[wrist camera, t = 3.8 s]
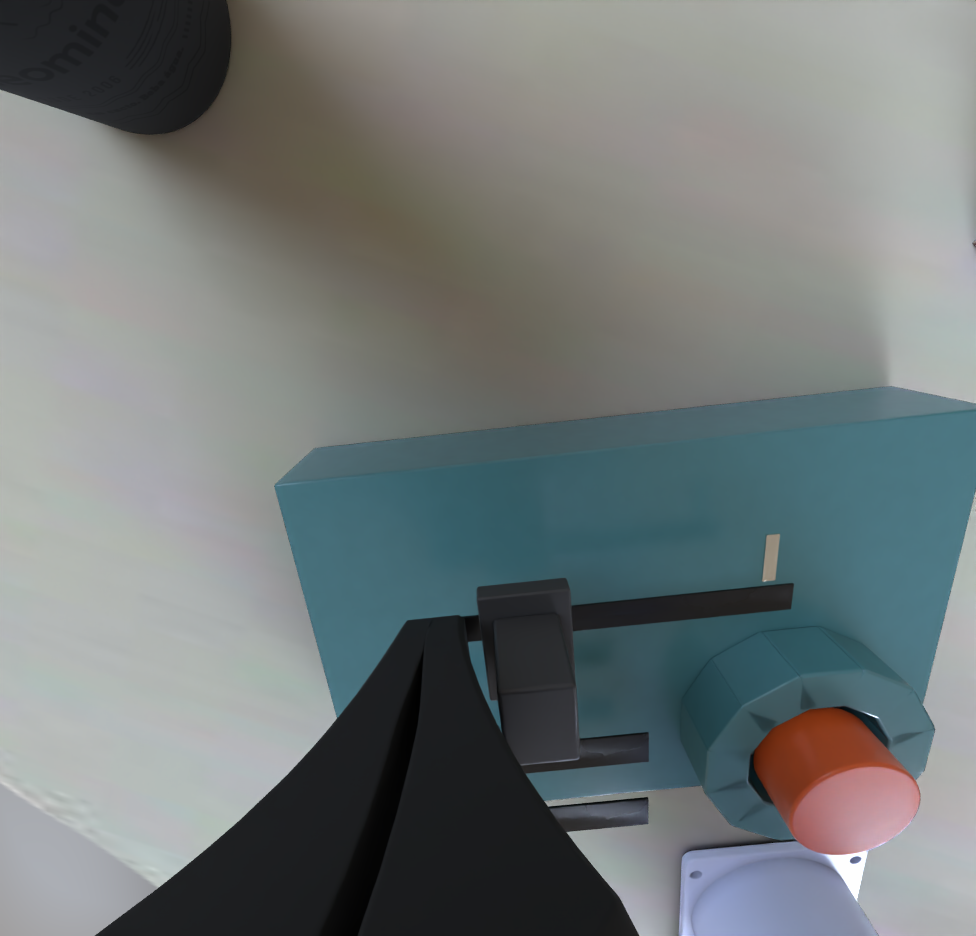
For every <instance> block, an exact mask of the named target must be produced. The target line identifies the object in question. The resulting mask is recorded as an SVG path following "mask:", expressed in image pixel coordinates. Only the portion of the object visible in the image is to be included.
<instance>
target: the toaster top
mask: <svg viewBox="0 0 976 936" xmlns="http://www.w3.org/2000/svg"><path fill="white" fill-rule="evenodd" d="M779 540H780V534H779V533H774V534H765V544H764V555H763V565H762V576H761V581H762V582H764V581H774V580H775V578H776V568H777V559H778V549H779ZM793 589H794V584H793V583H785V584H776V585H766V586H756V587H746V588H736V589H727V590H717V591H707V592H697V593H687V594H678V595H668V596H658V597H648V598H638V599H629V600H619V601H609V602H599V603H590V604H580V605H571V609H572V626H573V631H582V630H592V629H602V628H612V627H622V626H631V625H641V624H651V623H661V622H671V621H681V620H691V619H701V618H710V617H720V616H730V615H740V614H750V613H760V612H770V611H780V610H789V609H791V605H792V597H793ZM462 617H463V618H464V619H465V626H466V632H467V639H468V642H473V641H482V637H481V630H480V622H479V615H472V616H462ZM641 762H649V733H648V732H642V733H631V734H621V735H611V736H601V737H591V738H580V757H579V759H577V760H570V761H560V762H550V763H540V764H529V765H521V767H522V769H523V770H524V772H525V774H528V773H538V772H549V771H559V770H569V769H579V768H590V767H600V766H610V765H621V764H631V763H641ZM548 808H549V809H550V811H551V812H552V814H553V815H554V817H555V818H556V819H557V821H558V822H559V823H560V825H561V826H562V827H563V829H564V830H565V831H566V832H570V831H580V830H591V829H601V828H612V827H622V826H633V825H643V824H648V797H644V798H634V799H623V800H613V801H602V802H592V803H582V804H571V805H561V806H550V807H548Z"/></svg>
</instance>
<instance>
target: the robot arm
mask: <svg viewBox="0 0 976 936" xmlns="http://www.w3.org/2000/svg"><path fill="white" fill-rule="evenodd" d="M867 852H868V850H867V851H864V852H860V853H855V854H849V855H827V854H821V853H817V852H814V851H812V850H809V849H808V848H806V847H804V846H803V845H802V844H800V843H799V842H798V841H789V842H778V843H768V844H757V845H746V846H736V847H725V848H715V849H704V850H694V851H689V852H687V853H685V854H684V856H683V858H682V868H681V892H680V916H679V936H879V935H878V933H877V932H876V930H875V929H874V927H873V926H872V924H871V922H870V921H869V919H868V918H867V916H866V915H865V913H864V911H863V910H862V908H861V907H860V905H859V903H858V902H857V896H858V891H859V887H860V883H861V878H862V874H863V869H864V865H865V861H866V856H867ZM95 936H639V934H638V932H637V930H636V929H635V927H634V925H633V923H632V921H631V919H630V917H629V915H628V913H627V911H626V909H625V907H624V905H623V903H622V901H621V900H620V898H619V897H618V895H617V894H616V893H615V892H614V890H613V889H612V888H611V887H610V886H609V885H608V883H607V882H606V881H605V880H604V879H603V878H602V876H601V875H600V874H599V873H598V872H597V870H596V869H595V868H594V867H593V866H592V864H591V863H590V862H589V861H588V859H587V858H586V857H585V856H584V854H583V853H582V852H581V851H580V850H579V848H578V847H577V846H576V844H575V843H574V842H573V840H572V839H571V838H570V837H569V835H568V834H567V833H566V831H565V830H564V829H563V827H562V826H561V825H560V823H559V822H558V821H557V819H556V818H555V817H554V815H553V814H552V812H551V811H550V809H549V808H548V806H547V805H546V803H545V802H544V800H543V799H542V797H541V796H540V795H539V793H538V792H537V790H536V789H535V787H534V786H533V784H532V783H531V781H530V780H529V778H528V777H527V775H526V774H525V772H524V770H523V769H522V767H521V765H520V764H519V762H518V761H517V759H516V757H515V756H514V754H513V752H512V750H511V749H510V747H509V745H508V743H507V741H506V740H505V738H504V736H503V734H502V732H501V730H500V728H499V726H498V725H497V723H496V720H495V718H494V716H493V714H492V712H491V710H490V708H489V706H488V703H487V701H486V699H485V697H484V695H483V692H482V690H481V687H480V685H479V682H478V679H477V677H476V674H475V671H474V668H473V666H472V663H471V660H470V653H469V646H468V639H467V632H466V626H465V619H464V618H463V617H461V616H460V615H453V616H443V617H433V618H424V619H414V620H407V621H406V623H405V624H404V625H403V626H402V628H401V629H400V631H399V633H398V634H397V636H396V637H395V639H394V640H393V642H392V644H391V645H390V647H389V648H388V650H387V651H386V653H385V654H384V656H383V657H382V659H381V660H380V662H379V663H378V665H377V666H376V667H375V669H374V670H373V672H372V673H371V674H370V676H369V677H368V679H367V680H366V681H365V683H364V684H363V686H362V687H361V688H360V690H359V691H358V693H357V694H356V695H355V697H354V698H353V699H352V700H351V702H350V703H349V704H348V705H347V707H346V708H345V709H344V710H343V712H342V713H341V714H340V715H339V717H338V718H337V719H336V721H335V722H334V723H333V724H332V726H331V727H330V728H329V729H328V730H327V732H326V733H325V734H324V735H323V736H322V737H321V739H320V740H319V741H318V742H317V743H316V744H315V745H314V747H313V748H312V749H311V750H310V751H309V752H308V753H307V754H306V755H305V756H304V758H303V759H302V760H301V761H300V762H299V763H298V764H297V765H296V766H295V767H294V768H293V769H292V770H291V771H290V773H289V774H288V775H287V776H286V777H285V778H284V779H283V780H282V781H281V782H280V783H279V784H277V785H276V786H275V787H274V788H273V789H272V790H271V791H270V792H269V793H268V794H267V795H266V796H265V797H264V798H263V799H262V800H261V801H260V802H259V803H257V804H256V805H255V806H254V807H253V808H252V809H251V810H250V811H249V812H248V813H247V814H246V815H245V816H244V817H243V818H242V819H241V820H239V821H238V822H237V823H236V824H235V825H234V826H233V827H232V828H230V829H229V830H228V831H227V832H226V833H225V834H223V835H222V836H221V837H220V838H219V839H218V840H217V841H215V842H214V843H213V844H212V845H211V846H210V847H208V848H207V849H206V850H205V851H204V852H202V853H201V854H200V855H199V856H198V857H196V858H195V859H194V860H193V861H191V862H190V863H189V864H188V865H187V866H185V867H184V868H183V869H182V870H181V871H179V872H178V873H177V874H176V875H174V876H173V877H172V878H171V879H169V880H168V881H167V882H165V883H164V884H163V885H162V886H160V887H159V888H158V889H157V890H155V891H154V892H153V893H151V894H150V895H149V896H147V897H146V898H145V899H143V900H142V901H141V902H139V903H138V904H136V905H135V906H134V907H132V908H131V909H130V910H128V911H127V912H126V913H125V914H123V915H122V916H121V917H119V918H118V919H117V920H115V921H114V922H112V923H111V924H110V925H108V926H107V927H106V928H104V929H103V930H102V931H100V932H99V933H98V934H96V935H95Z"/></svg>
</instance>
